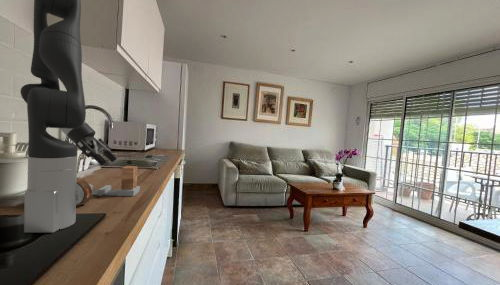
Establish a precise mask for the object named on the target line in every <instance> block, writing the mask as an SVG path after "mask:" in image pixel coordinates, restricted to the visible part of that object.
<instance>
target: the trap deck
mask: <svg viewBox="0 0 500 285" xmlns="http://www.w3.org/2000/svg"><path fill="white" fill-rule="evenodd" d="M89 185H90V186H91V189H92V196H101V197H103V196H105V197H107V196H109V197H113V196H114V197H134V196H136V195H137V194H138V193H139V192H140V189H141V186H140V185H137V187H136V188H134V189H133V190H128V189H121V187H120V188H119V189H112V185H111V184H110V185H109V184H107V185H105V186H103V187H101V188H99V189H93V187H94V185H93V184H89Z"/></svg>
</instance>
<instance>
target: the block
mask: <svg viewBox="0 0 500 285" xmlns="http://www.w3.org/2000/svg"><path fill="white" fill-rule="evenodd" d="M137 183H138V166H137V165H134V166H133V165H125V166H123V167H121V186H120V188H121V189H128V190H133V189H134V188H136V187H137V186H138V185H137Z"/></svg>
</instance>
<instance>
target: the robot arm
mask: <svg viewBox="0 0 500 285" xmlns="http://www.w3.org/2000/svg"><path fill="white" fill-rule="evenodd" d="M33 3H34V5H33V51H32V57H31V58H32V59H31V64H30V73H31V74H32V75H33V76H34V77H35V78H38V79H40V83H28V84H27V83H26V84H25V85H23V86H21V88H20V95H21V98H22V100H23V102H25V103H26V106H27V107H26V108H27V112H26V113H27V123H28V125H27V126H28V127H27V128H28V147H27V148H28V149H27V181H26V182H27V189H26V190H25V191H24V202H23V204H24V210H23V212H24V213H23V214H24V215H23V233H56V232H58V231H60V230H62V229H66V228H68V227H71V226H72V225H74V224H75V223H76V219H77V218H76V215H77V213H76V212H77V206H76V183H77V177H78V176H77V175H78V174H77V173H78V149H79V150H80V151H81V152H82V153H83V154H84V155H85V157H87V158H91V159H94V160H95V161H96V162H97V163H98V164H99V165H100V166H104V165H105V164H106V163H107V162H108V161H107V160H106V158H107V159H108V160H109V161H110V162H112V163H114V162H115V161H117V159H118V157H116V156H115V155H114V154H113V152H112V148H111V146H110V145H109V144H107V142H105V141H104V140H103V139H102V138H95V135H96V131H95V130H94V129H93V127H91V126H90V125H89V123H87V121H86V117H87V116H86V115H87V114H86V111H87V108H86V100H85V92H84V86H83V75H82V74H83V73H82V62H83V58H82V57H83V54H82V52H83V51H82V40H81V14H82V1H81V0H33ZM48 14H49V15H51V16H54V17H57V18H59V19H62V20H60V21H57V22H54V23H51V24H50V25H48V19H47V18H48ZM59 80H60V81H59ZM60 82H61V84H62V85H63V86H64V88H65V90H61V87H60ZM47 128H50V129H59V130H60V131H61V132H62V133H63V134H64V135H65V136H66V137H67V138H69V140H70V141H71V142H69V141H65V140H61V139H59V138H57V137H55V136H54V135H51V134H50V133H48V131H47ZM72 142H73V143H72ZM102 155H104V156H105V157H106V158H105V157H104V156H102ZM59 229H60V230H59Z"/></svg>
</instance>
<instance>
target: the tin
mask: <svg viewBox="0 0 500 285" xmlns="http://www.w3.org/2000/svg"><path fill="white" fill-rule="evenodd" d="M90 185H91V184H90V183H89V182H88V181H86V180H85V179H83V178H79V177H78V178H77V183H76V207H79V206H82V205H85V204H87V203H88V202H89V201H90V200H91V199H92V196H93V195H92V189H91V186H90Z"/></svg>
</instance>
